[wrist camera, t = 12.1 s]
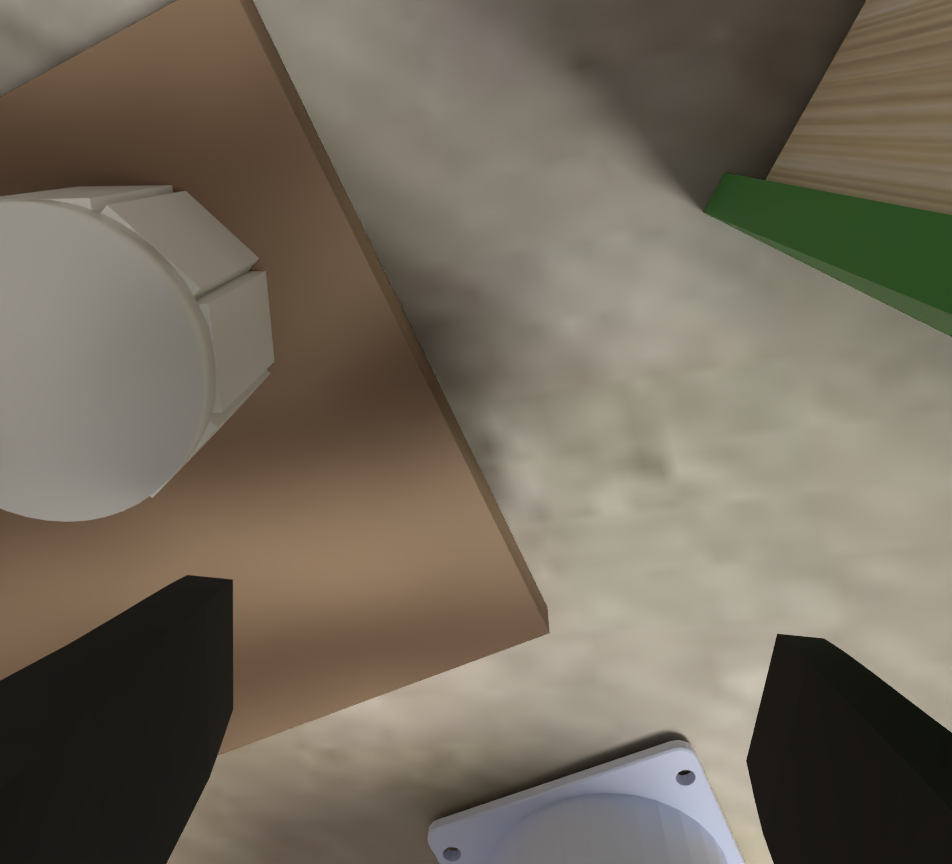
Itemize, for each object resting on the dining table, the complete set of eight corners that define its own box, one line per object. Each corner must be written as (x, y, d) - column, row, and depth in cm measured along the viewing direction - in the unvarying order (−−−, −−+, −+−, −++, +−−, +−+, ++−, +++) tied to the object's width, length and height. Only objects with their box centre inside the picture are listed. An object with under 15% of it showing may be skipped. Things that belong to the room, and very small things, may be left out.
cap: (116, 127, 17) (-10, 125, 13) (322, 317, 19) (268, 371, 14) (-31, 319, 19) (-187, 373, 15) (168, 483, 20) (77, 578, 16)
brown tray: (547, 607, 22) (555, 711, 18) (-15, 817, 25) (-113, 945, 21) (244, -17, 18) (167, -60, 14) (-399, 332, 21) (-615, 380, 17)
